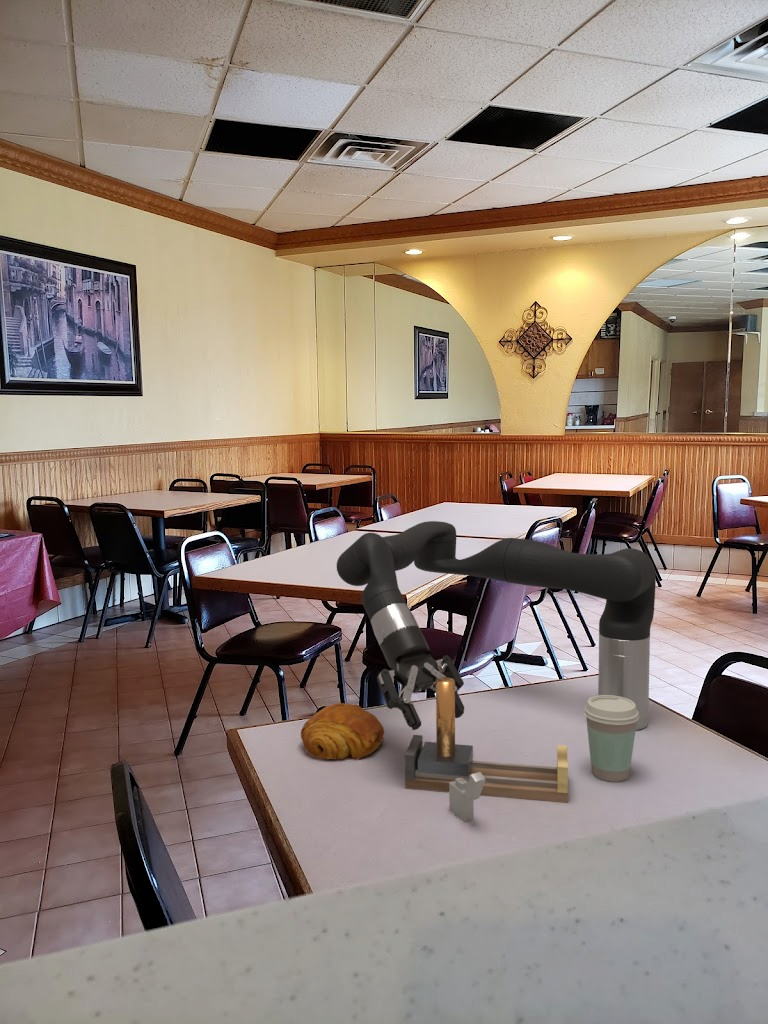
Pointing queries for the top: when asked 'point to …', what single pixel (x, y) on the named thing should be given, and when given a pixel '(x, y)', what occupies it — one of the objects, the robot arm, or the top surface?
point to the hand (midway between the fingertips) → (439, 721)
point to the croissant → (342, 732)
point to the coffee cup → (611, 735)
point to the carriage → (445, 738)
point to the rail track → (496, 777)
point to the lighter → (465, 795)
